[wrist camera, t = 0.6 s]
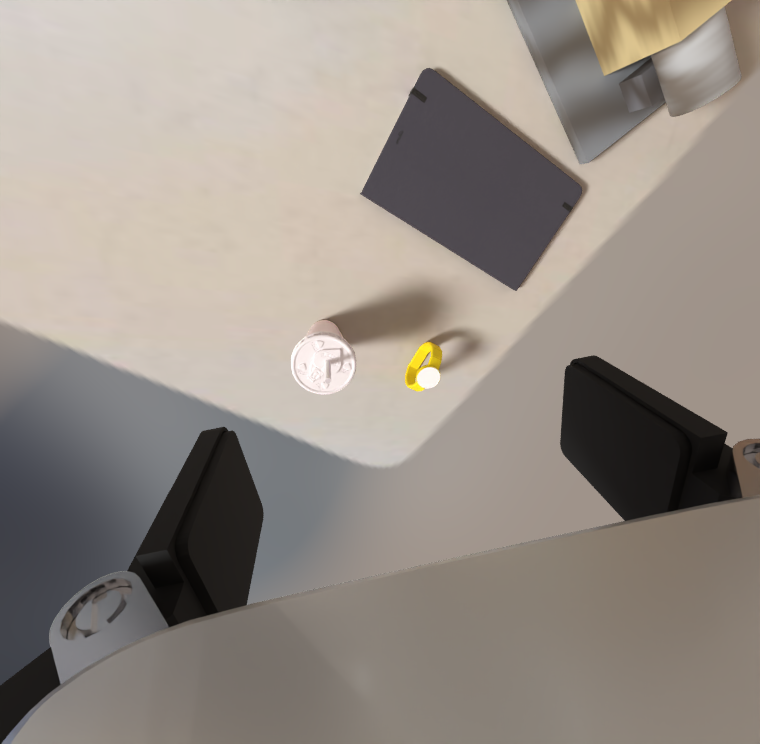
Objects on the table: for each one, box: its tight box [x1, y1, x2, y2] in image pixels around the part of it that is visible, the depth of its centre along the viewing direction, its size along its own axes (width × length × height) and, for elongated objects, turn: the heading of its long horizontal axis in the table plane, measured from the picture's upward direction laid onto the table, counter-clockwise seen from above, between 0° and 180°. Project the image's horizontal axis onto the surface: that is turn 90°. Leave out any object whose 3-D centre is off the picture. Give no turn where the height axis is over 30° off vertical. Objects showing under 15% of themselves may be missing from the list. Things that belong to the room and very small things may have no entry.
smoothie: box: [291, 320, 356, 394], centre depth 40 cm, size 6×6×14 cm
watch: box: [405, 342, 442, 391], centre depth 46 cm, size 6×3×6 cm, turn 150°
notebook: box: [360, 68, 582, 291], centre depth 42 cm, size 13×2×21 cm
